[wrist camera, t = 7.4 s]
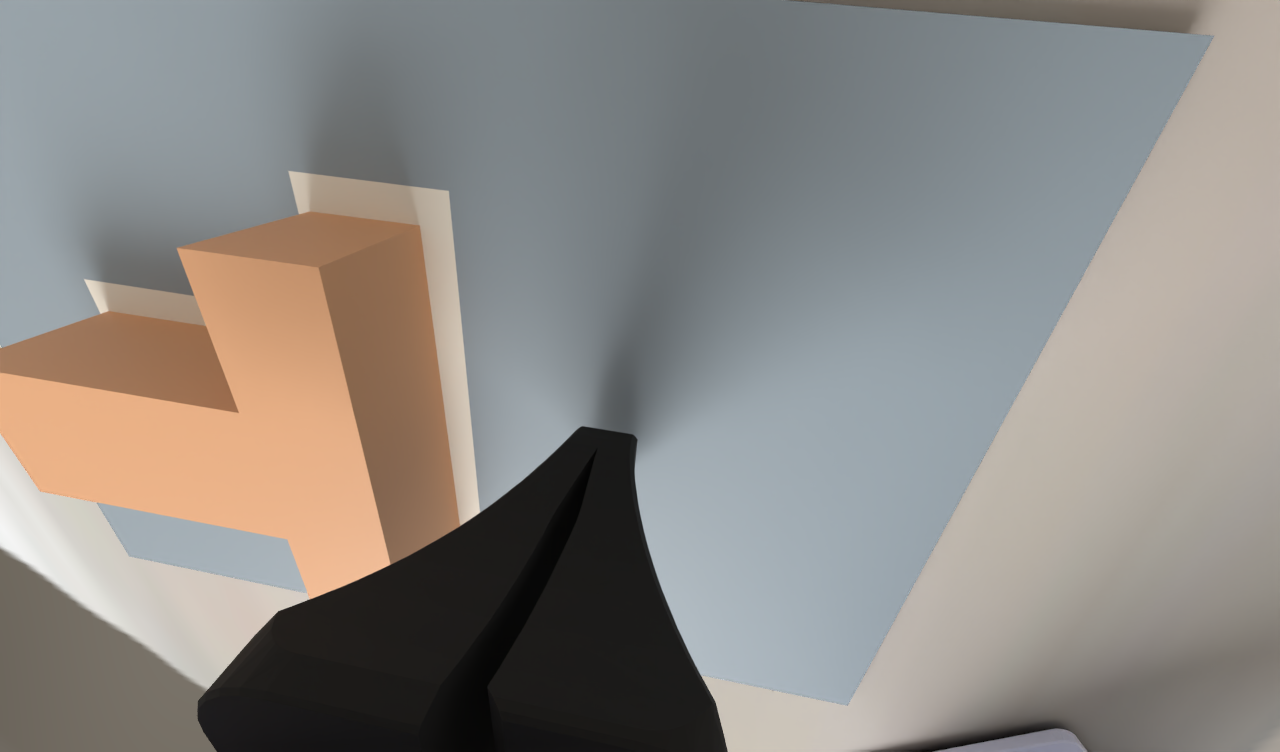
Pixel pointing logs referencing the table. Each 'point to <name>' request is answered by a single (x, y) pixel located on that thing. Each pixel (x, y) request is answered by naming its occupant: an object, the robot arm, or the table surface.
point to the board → (622, 249)
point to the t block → (258, 398)
